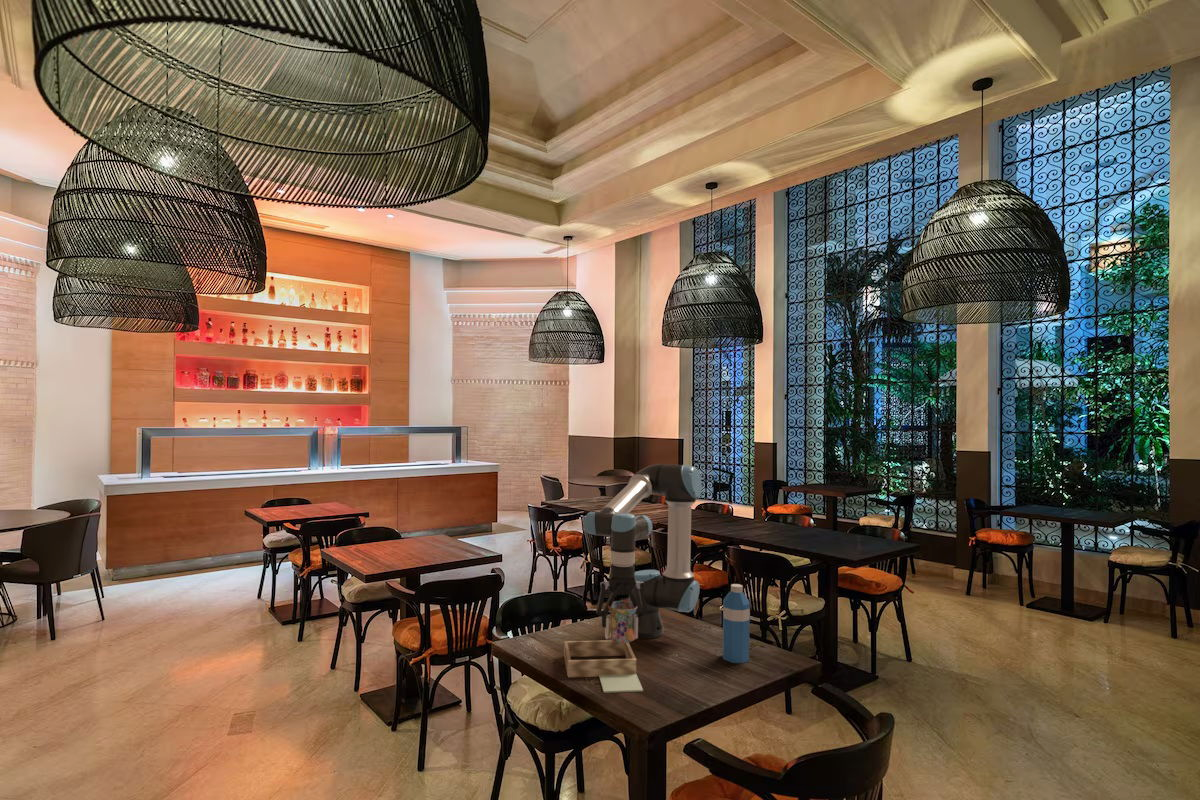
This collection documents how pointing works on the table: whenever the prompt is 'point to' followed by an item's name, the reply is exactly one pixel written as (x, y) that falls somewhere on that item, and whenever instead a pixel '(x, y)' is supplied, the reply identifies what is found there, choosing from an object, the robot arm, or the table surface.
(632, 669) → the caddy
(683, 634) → the table surface
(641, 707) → the table surface
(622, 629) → the mug
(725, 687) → the table surface
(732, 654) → the water bottle
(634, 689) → the mat
